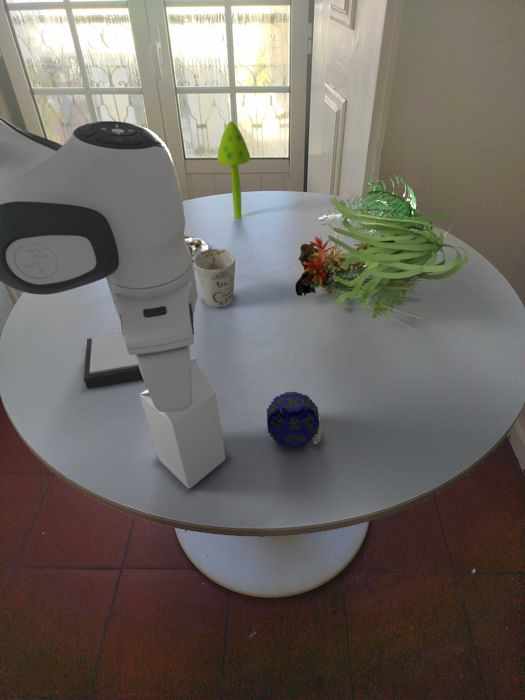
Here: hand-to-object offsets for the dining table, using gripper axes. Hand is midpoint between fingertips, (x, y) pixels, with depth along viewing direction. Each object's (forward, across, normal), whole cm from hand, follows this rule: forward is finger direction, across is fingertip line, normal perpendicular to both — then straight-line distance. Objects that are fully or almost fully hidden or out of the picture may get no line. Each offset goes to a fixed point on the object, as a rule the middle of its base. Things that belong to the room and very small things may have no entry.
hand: (175, 378), depth 59 cm
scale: (+18, -25, -10) cm, 32 cm away
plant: (+18, -35, +41) cm, 57 cm away
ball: (+18, -1, +16) cm, 24 cm away
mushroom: (+18, -77, +21) cm, 82 cm away
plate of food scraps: (+18, -63, +5) cm, 66 cm away
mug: (+18, -42, +10) cm, 47 cm away
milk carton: (+18, 0, 0) cm, 18 cm away
